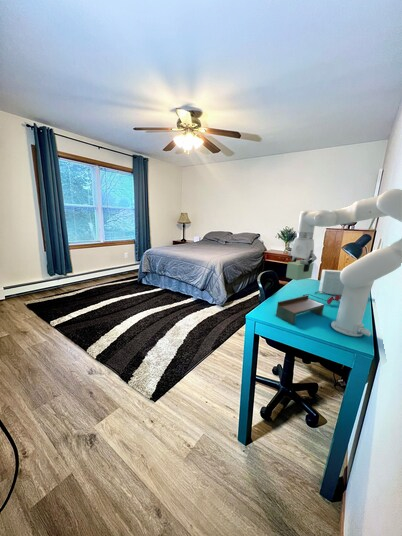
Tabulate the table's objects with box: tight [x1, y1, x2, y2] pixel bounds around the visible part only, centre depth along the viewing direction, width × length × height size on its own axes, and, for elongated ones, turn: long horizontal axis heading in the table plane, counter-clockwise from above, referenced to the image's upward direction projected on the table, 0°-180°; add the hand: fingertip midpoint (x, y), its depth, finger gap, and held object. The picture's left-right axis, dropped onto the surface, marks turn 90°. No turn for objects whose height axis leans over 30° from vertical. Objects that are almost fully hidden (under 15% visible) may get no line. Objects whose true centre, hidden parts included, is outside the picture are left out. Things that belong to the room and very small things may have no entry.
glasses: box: [302, 290, 341, 305], centre depth 136 cm, size 14×16×5 cm
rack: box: [275, 294, 325, 325], centre depth 111 cm, size 10×24×8 cm, turn 120°
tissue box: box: [285, 259, 314, 281], centre depth 114 cm, size 6×12×9 cm, turn 119°
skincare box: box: [318, 269, 344, 296], centre depth 146 cm, size 21×5×16 cm, turn 84°
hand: (299, 269), depth 114 cm, fingers closed on tissue box, 6 cm apart
